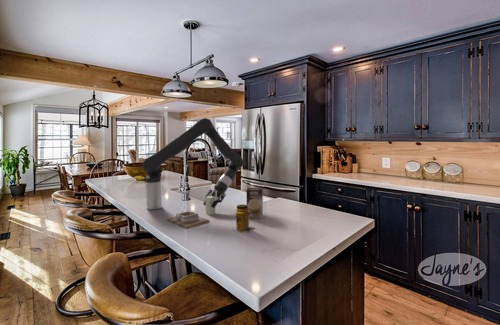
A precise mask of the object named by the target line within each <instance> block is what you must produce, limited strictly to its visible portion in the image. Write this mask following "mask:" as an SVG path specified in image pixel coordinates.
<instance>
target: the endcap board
mask: <svg viewBox="0 0 500 325" xmlns="http://www.w3.org/2000/svg"><path fill="white" fill-rule="evenodd" d="M166 221H168V222H171V223H172V224H175V225H177V226H180V227H182V228H184V229H190V228H192V227H196V226H199V225H204V224H206V223H210V220H209V219H208V218H204V217H202V216H199V213H198V212H195V211H193V210H188V211H182V212H179V213H178V212H177V213H176V214H175V216H170V217H167V218H166Z"/></svg>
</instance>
